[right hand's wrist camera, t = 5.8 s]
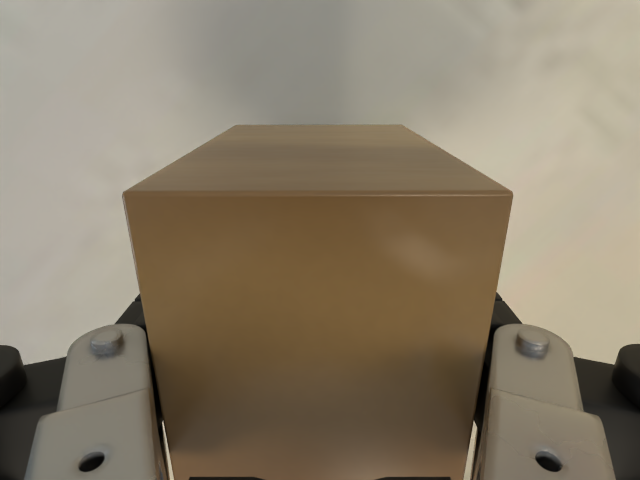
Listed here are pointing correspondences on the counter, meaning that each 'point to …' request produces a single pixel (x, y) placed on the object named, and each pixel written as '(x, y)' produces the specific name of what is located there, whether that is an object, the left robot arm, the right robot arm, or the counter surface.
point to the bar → (318, 301)
